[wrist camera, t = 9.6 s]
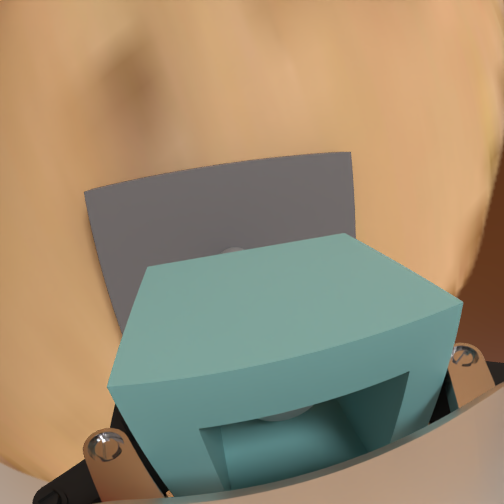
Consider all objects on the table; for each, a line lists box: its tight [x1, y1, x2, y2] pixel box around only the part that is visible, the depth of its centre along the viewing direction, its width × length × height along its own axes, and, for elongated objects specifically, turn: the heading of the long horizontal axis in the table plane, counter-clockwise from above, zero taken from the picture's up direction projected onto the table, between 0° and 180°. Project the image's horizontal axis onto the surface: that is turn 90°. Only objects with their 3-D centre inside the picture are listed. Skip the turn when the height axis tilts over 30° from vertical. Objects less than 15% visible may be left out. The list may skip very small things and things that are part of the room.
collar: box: [107, 233, 463, 497], centre depth 9 cm, size 7×7×6 cm
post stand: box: [84, 152, 356, 421], centre depth 14 cm, size 12×16×12 cm
